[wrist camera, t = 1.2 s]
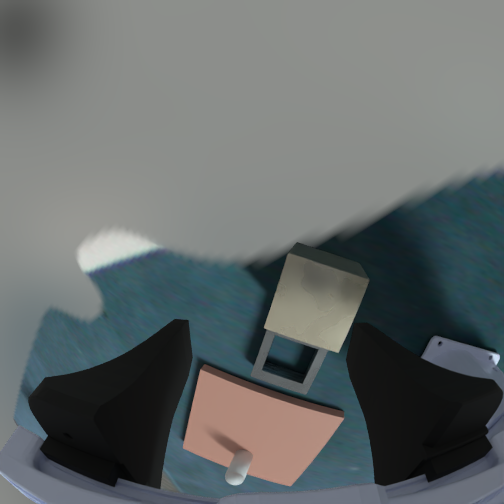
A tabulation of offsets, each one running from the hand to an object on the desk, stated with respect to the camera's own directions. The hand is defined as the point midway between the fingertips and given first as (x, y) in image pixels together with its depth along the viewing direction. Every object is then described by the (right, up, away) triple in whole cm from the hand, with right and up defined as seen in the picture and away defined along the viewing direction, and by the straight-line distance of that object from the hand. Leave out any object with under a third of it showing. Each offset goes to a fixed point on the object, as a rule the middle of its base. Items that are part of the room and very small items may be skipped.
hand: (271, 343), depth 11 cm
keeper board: (-1, -15, +13) cm, 20 cm away
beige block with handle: (+3, -2, +10) cm, 11 cm away
